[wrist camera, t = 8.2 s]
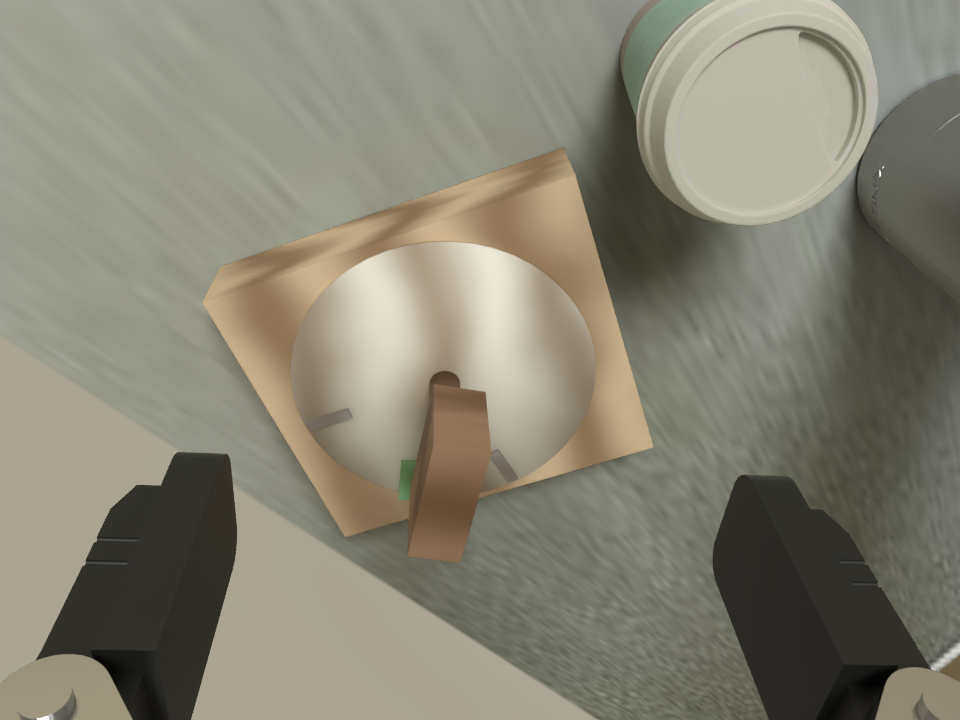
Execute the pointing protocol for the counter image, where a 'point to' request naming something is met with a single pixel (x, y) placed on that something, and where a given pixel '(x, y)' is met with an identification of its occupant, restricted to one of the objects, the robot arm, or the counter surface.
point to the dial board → (437, 338)
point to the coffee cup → (748, 103)
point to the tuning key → (448, 470)
